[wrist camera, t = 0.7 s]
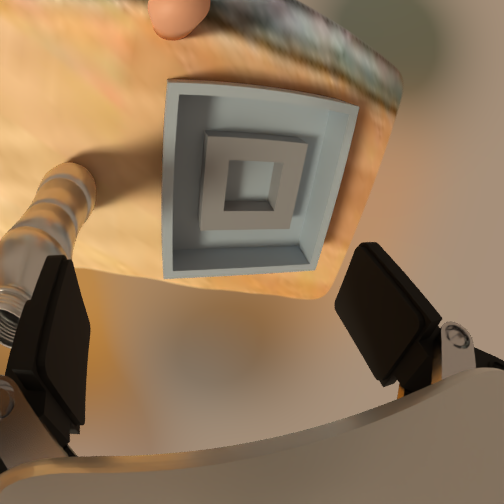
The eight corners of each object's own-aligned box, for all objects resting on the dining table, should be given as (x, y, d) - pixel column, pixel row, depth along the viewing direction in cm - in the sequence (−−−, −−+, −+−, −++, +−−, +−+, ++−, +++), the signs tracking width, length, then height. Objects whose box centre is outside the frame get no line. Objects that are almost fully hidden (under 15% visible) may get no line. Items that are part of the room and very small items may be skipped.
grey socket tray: (167, 79, 26) (168, 82, 22) (335, 98, 31) (359, 106, 27) (162, 252, 37) (163, 278, 33) (300, 247, 42) (315, 270, 38)
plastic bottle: (106, 163, 29) (55, 299, 13) (94, 219, 32) (59, 372, 16) (50, 151, 26) (-46, 273, 10) (43, 207, 29) (-24, 351, 13)
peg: (155, 2, 21) (152, -23, 13) (198, 4, 22) (214, -20, 14) (150, 40, 23) (144, 30, 15) (192, 41, 24) (206, 32, 16)
